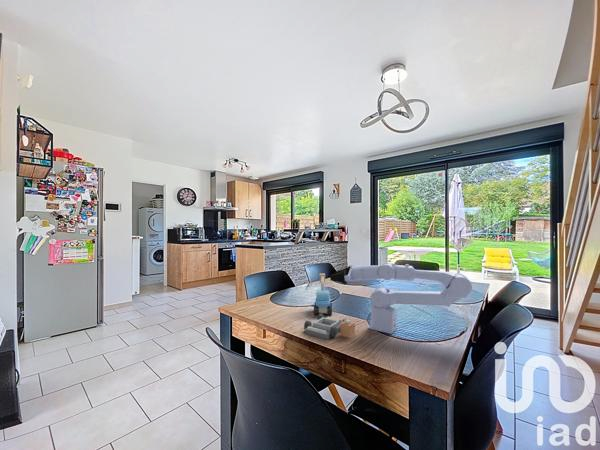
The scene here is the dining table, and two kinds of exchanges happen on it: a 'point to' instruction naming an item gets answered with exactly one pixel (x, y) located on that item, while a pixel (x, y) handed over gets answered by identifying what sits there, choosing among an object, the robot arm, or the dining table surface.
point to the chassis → (323, 327)
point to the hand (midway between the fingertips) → (333, 275)
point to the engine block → (347, 328)
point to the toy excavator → (322, 299)
